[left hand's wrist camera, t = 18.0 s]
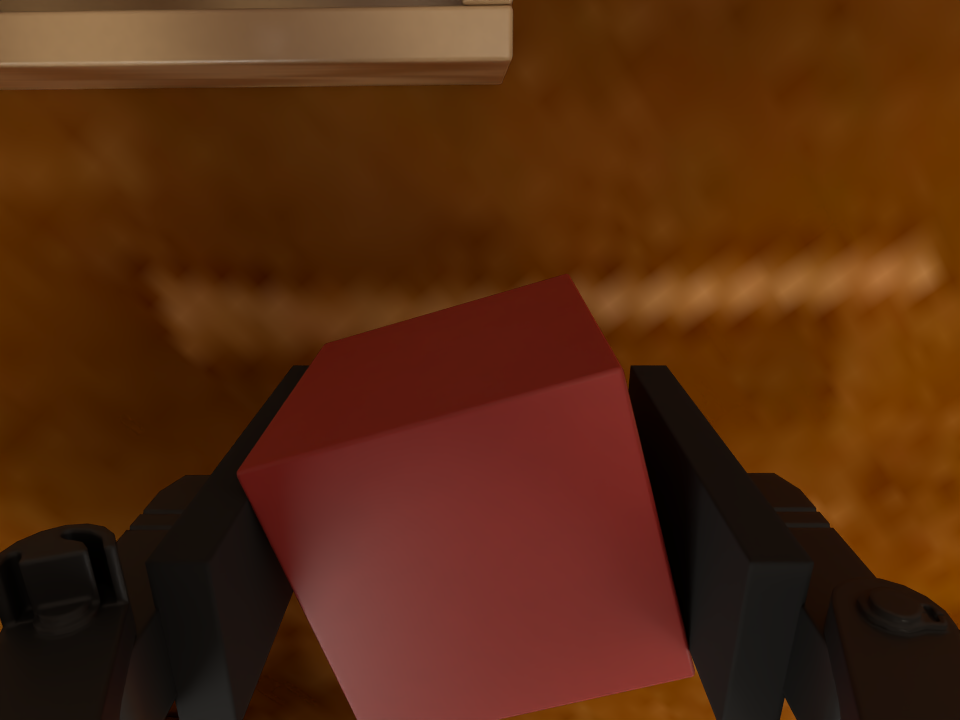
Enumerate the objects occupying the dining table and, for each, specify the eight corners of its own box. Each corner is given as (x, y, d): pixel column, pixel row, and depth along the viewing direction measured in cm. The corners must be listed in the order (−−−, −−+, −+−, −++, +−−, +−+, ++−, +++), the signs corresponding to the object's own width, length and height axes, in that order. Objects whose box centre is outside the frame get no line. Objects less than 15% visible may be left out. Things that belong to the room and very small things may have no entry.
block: (568, 271, 13) (622, 367, 8) (624, 490, 15) (697, 678, 10) (323, 343, 14) (233, 472, 9) (405, 545, 16) (370, 749, 11)
